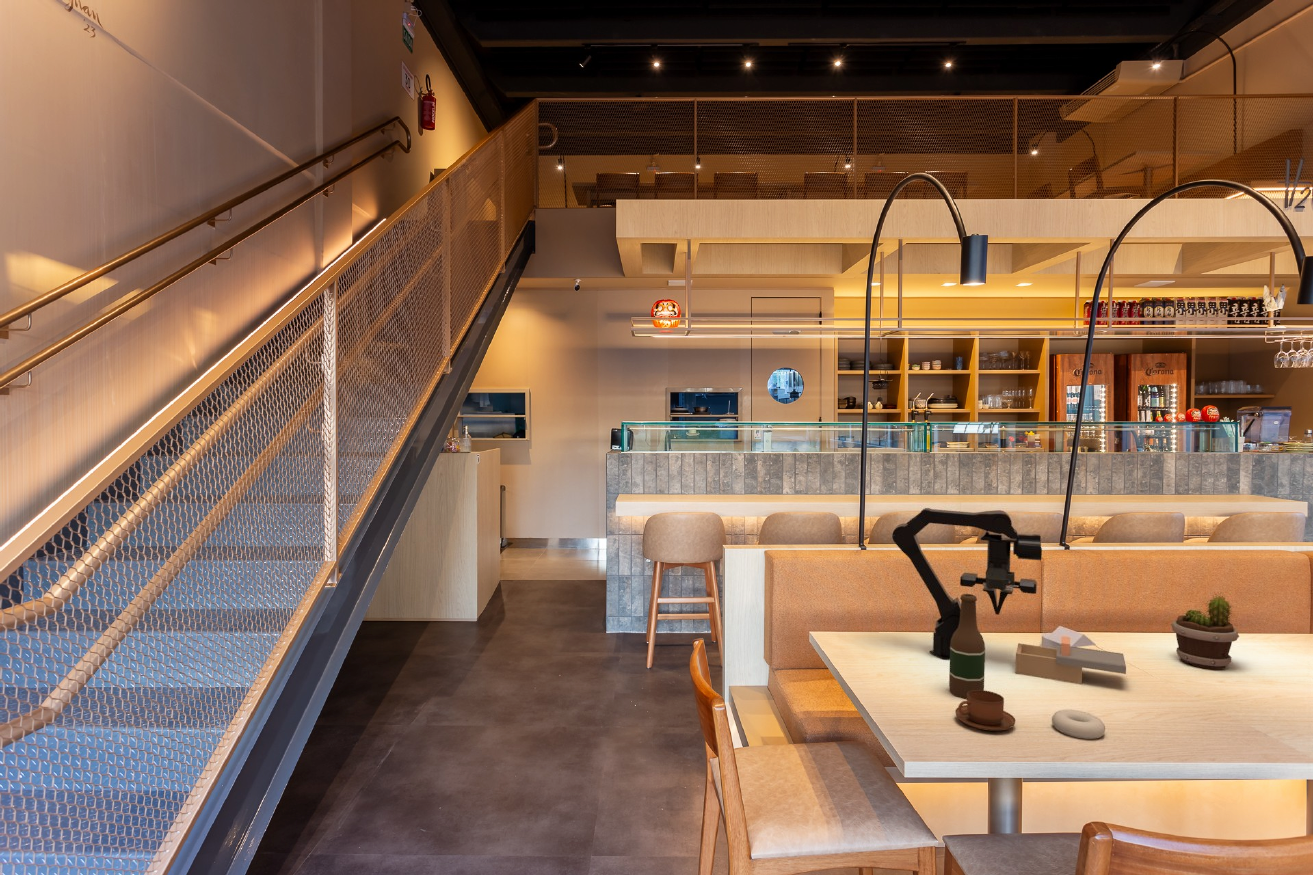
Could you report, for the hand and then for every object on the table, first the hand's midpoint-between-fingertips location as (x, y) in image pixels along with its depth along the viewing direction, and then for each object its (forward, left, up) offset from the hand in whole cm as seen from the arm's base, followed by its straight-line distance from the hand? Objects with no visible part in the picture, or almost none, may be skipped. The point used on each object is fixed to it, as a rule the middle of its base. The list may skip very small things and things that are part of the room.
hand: (997, 614), depth 204 cm
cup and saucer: (-32, -34, -13) cm, 48 cm away
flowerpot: (+54, -16, -13) cm, 58 cm away
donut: (-15, -42, -14) cm, 47 cm away
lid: (+14, -18, -9) cm, 24 cm away
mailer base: (+7, -11, -13) cm, 18 cm away
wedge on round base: (+26, +3, -13) cm, 29 cm away
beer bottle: (-24, -18, -13) cm, 33 cm away
